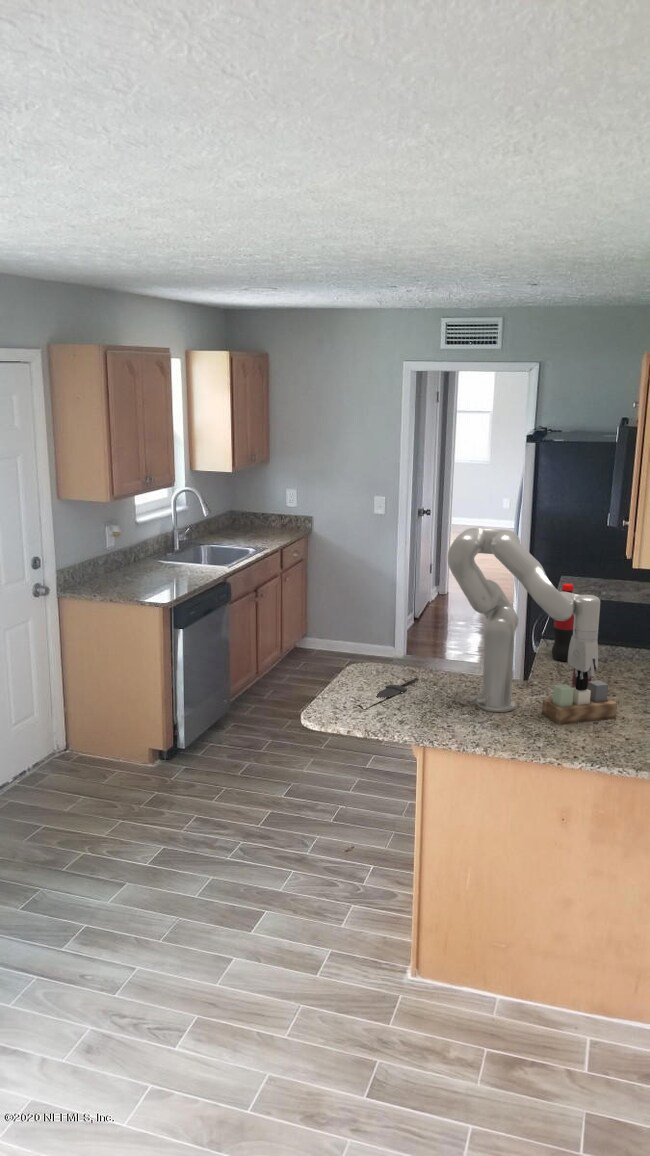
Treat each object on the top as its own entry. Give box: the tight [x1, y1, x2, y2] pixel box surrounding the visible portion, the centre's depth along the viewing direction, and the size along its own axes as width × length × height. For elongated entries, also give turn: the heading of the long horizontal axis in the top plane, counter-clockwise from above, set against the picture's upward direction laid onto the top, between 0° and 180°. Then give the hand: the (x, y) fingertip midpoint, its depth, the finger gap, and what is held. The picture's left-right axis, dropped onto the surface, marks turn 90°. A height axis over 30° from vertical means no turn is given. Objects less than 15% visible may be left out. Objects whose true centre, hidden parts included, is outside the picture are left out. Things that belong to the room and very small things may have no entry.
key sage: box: [552, 683, 574, 707], centre depth 279 cm, size 4×4×7 cm
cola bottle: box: [551, 583, 574, 662], centre depth 339 cm, size 8×8×30 cm
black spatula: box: [376, 677, 419, 698], centre depth 301 cm, size 7×35×2 cm, turn 140°
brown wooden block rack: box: [541, 697, 618, 726], centre depth 282 cm, size 21×10×5 cm, turn 109°
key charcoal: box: [588, 679, 609, 703], centre depth 283 cm, size 4×4×7 cm
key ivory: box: [573, 687, 591, 705], centre depth 282 cm, size 4×4×7 cm
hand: (581, 689), depth 281 cm, fingers closed
